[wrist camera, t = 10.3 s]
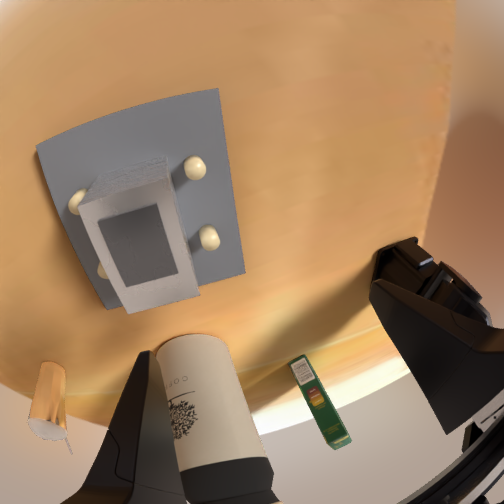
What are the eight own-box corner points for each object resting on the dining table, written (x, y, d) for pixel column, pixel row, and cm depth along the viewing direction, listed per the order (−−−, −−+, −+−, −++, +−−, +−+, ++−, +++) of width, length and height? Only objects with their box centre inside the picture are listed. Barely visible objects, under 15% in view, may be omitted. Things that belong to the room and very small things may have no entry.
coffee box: (285, 362, 33) (327, 446, 23) (304, 351, 33) (350, 434, 23) (298, 381, 38) (333, 451, 28) (314, 373, 38) (352, 441, 28)
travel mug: (240, 355, 30) (298, 500, 15) (183, 381, 30) (221, 520, 15) (203, 319, 25) (265, 511, 10) (140, 352, 25) (167, 526, 10)
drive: (190, 249, 19) (201, 296, 15) (131, 265, 18) (128, 316, 14) (166, 155, 15) (167, 179, 11) (98, 175, 14) (76, 207, 10)
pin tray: (242, 266, 23) (251, 284, 21) (108, 301, 20) (105, 323, 18) (215, 88, 15) (223, 87, 13) (41, 142, 12) (25, 150, 10)
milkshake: (66, 385, 25) (64, 456, 17) (32, 366, 21) (22, 439, 13) (82, 374, 24) (81, 452, 16) (45, 352, 21) (33, 434, 13)
